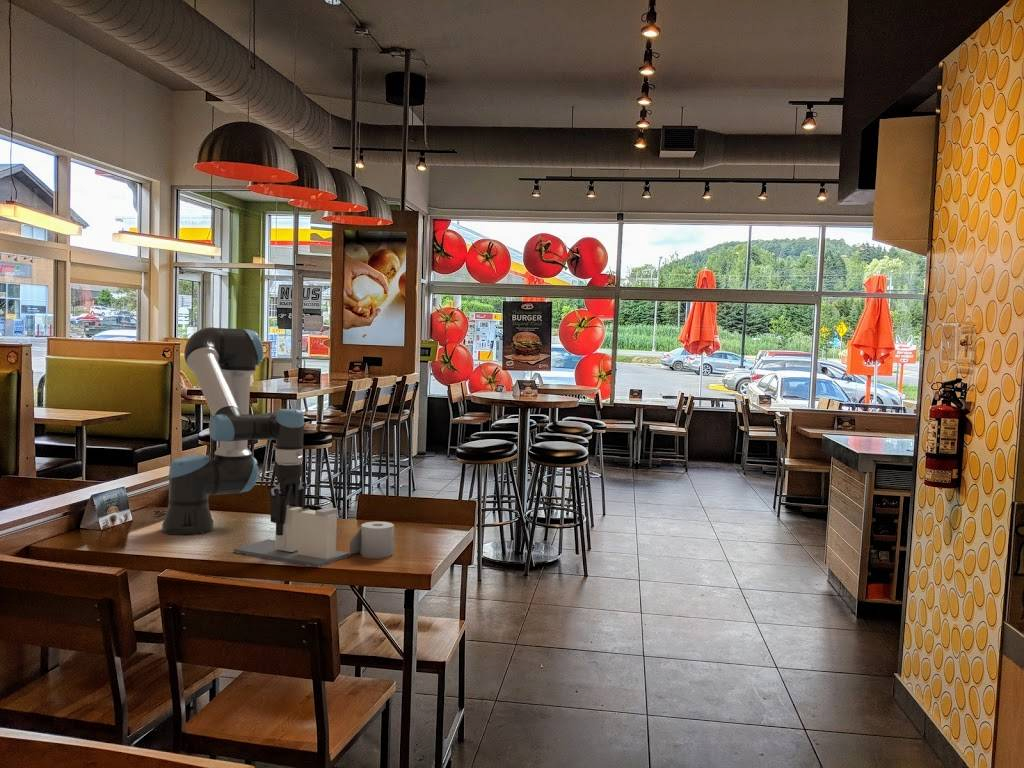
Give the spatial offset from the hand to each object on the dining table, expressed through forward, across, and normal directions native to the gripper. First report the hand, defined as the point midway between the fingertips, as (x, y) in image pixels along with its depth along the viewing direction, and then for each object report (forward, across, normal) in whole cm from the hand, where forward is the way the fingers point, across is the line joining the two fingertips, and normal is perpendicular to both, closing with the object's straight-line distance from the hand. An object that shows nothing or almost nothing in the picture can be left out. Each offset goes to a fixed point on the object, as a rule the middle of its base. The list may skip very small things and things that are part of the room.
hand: (286, 544), depth 220 cm
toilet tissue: (+3, +12, -21) cm, 24 cm away
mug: (+3, +19, +7) cm, 21 cm away
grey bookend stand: (+3, 0, -2) cm, 3 cm away
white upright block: (+1, 0, -1) cm, 1 cm away
